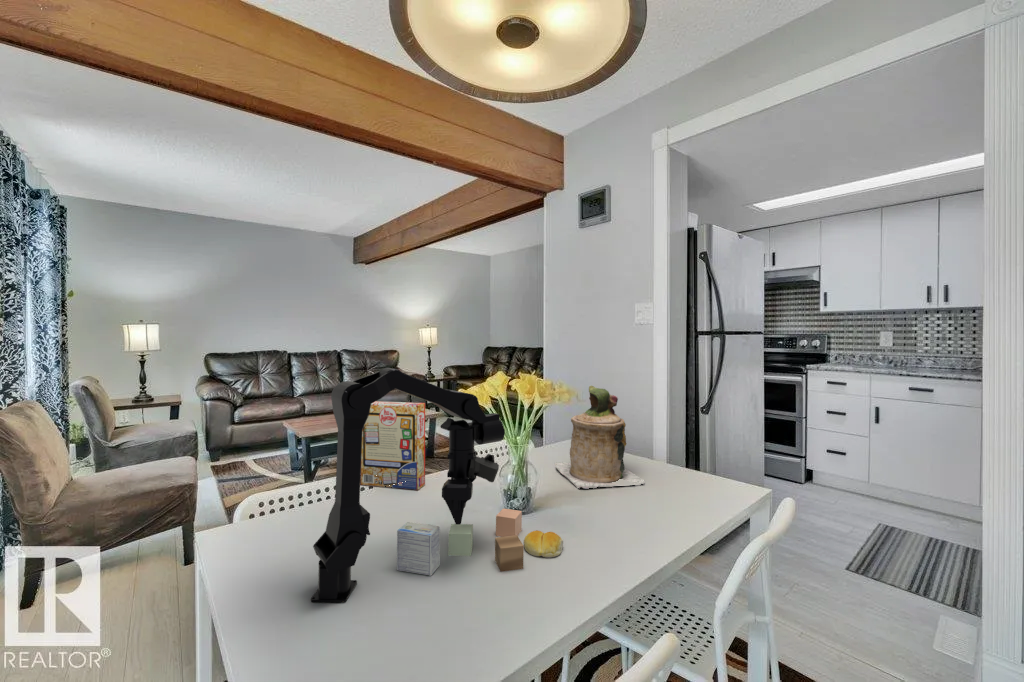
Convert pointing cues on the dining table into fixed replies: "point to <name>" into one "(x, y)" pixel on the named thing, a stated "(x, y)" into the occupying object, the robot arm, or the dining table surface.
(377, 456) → the board game box
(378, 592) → the dining table surface
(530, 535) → the bread roll
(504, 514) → the terracotta cube
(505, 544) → the walnut cube
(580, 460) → the cookie jar
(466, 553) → the sage cube
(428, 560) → the medicine box
